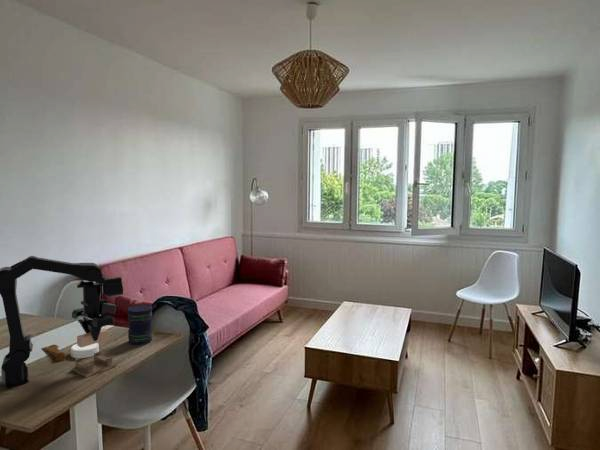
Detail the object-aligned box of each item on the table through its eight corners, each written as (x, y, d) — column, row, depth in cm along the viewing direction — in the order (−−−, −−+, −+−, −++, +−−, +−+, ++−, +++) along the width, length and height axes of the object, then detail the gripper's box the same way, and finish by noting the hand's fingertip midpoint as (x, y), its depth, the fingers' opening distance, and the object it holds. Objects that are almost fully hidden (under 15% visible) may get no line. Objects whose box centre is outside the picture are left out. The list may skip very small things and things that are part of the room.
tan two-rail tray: (86, 377, 143) (85, 367, 143) (71, 369, 149) (71, 359, 148) (115, 366, 152) (115, 356, 152) (101, 359, 158) (100, 350, 157)
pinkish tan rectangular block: (81, 347, 144) (81, 338, 144) (77, 345, 146) (76, 336, 146) (108, 339, 153) (108, 330, 152) (104, 337, 154) (103, 328, 154)
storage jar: (123, 343, 174) (122, 309, 173) (139, 336, 183) (138, 303, 182) (142, 347, 171) (141, 312, 170) (157, 339, 180) (157, 306, 179)
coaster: (79, 361, 157) (79, 352, 156) (65, 355, 162) (65, 346, 162) (104, 352, 165) (103, 344, 165) (90, 347, 170) (90, 339, 170)
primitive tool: (41, 349, 168) (40, 341, 167) (55, 345, 172) (55, 337, 171) (56, 363, 155) (55, 354, 154) (71, 359, 159) (71, 350, 158)
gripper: (127, 297, 149) (128, 339, 151) (99, 289, 160) (100, 328, 161) (97, 304, 140) (98, 348, 141) (70, 295, 151) (71, 336, 152)
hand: (93, 339), depth 149 cm, fingers closed on pinkish tan rectangular block, 3 cm apart
